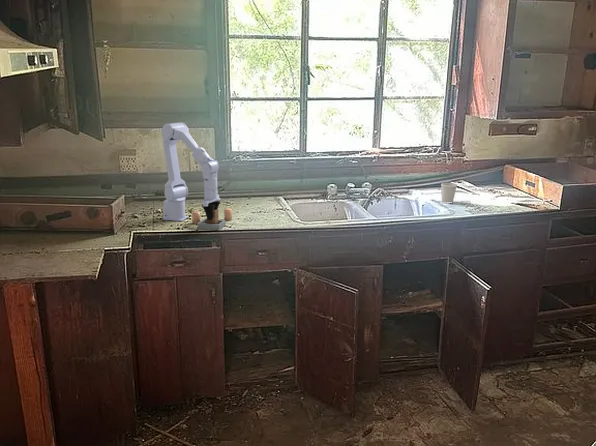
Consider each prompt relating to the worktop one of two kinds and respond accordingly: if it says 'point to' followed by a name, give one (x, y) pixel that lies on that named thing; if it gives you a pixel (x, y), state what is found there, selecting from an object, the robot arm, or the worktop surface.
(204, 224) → the tray
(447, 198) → the dixie cup
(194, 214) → the tan cylinder
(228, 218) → the tan cylinder
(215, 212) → the walnut block
